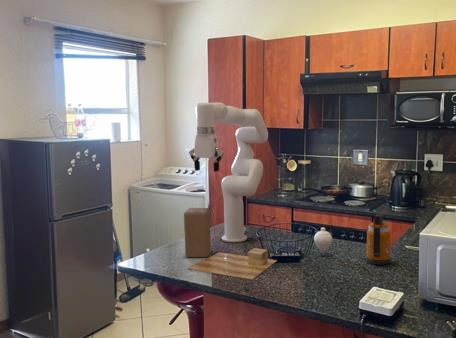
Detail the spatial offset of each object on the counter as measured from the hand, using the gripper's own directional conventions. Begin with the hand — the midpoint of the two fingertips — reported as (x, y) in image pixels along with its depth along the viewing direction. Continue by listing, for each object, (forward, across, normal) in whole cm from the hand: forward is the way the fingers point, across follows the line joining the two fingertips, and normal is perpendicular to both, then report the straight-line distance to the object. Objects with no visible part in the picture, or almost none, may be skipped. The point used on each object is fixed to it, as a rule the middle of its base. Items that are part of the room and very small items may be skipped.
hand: (206, 170), depth 195 cm
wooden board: (+37, -18, +10) cm, 42 cm away
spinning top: (+37, -47, -17) cm, 62 cm away
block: (+37, +3, +4) cm, 37 cm away
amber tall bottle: (+37, -70, -16) cm, 81 cm away
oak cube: (+36, -26, +4) cm, 45 cm away
